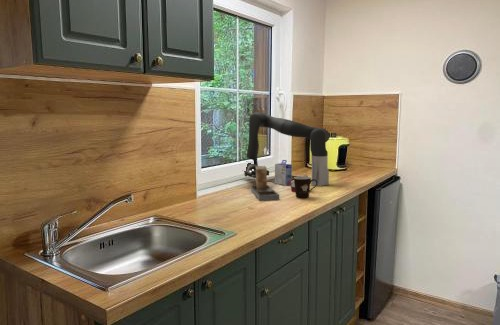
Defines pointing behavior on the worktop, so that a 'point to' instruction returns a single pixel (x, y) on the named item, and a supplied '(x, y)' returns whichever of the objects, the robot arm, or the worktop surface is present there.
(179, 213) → the worktop surface
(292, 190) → the canned food
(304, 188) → the coffee mug
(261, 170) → the walnut peg
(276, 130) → the robot arm
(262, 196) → the holder tray
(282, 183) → the ink cartridge box
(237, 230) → the worktop surface
